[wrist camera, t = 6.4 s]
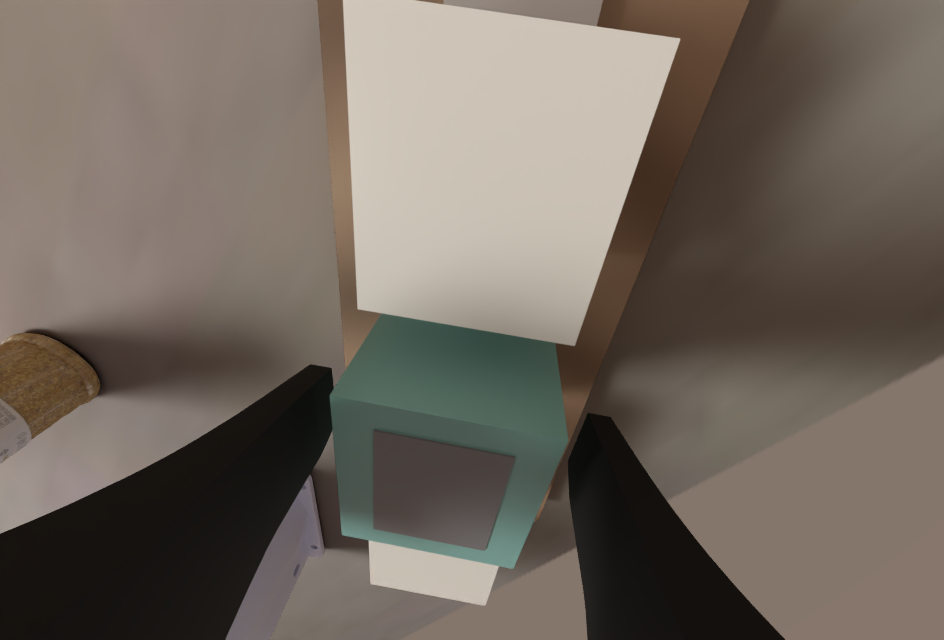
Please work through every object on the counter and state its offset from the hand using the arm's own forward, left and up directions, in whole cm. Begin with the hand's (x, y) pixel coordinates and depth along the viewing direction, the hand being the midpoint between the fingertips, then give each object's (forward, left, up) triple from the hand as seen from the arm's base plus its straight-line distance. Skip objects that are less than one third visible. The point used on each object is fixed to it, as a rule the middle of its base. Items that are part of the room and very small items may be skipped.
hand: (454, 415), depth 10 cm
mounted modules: (0, 0, -3) cm, 3 cm away
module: (0, 0, -3) cm, 3 cm away
